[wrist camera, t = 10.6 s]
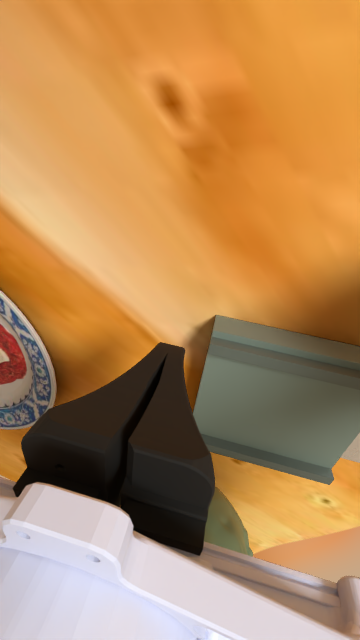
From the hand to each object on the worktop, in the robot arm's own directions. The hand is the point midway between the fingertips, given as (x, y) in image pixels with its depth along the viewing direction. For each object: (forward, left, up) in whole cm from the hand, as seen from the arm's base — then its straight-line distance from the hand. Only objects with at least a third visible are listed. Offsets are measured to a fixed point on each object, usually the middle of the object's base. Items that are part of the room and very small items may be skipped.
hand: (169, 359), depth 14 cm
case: (-9, +9, -9) cm, 16 cm away
